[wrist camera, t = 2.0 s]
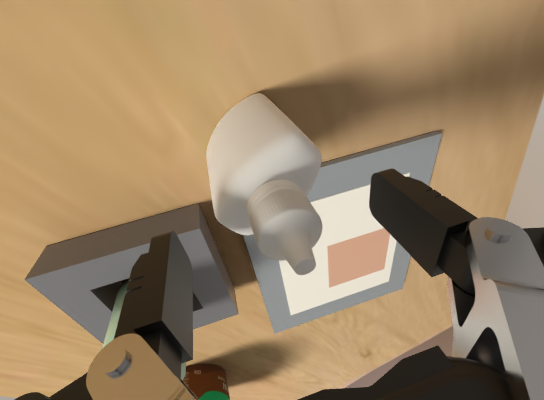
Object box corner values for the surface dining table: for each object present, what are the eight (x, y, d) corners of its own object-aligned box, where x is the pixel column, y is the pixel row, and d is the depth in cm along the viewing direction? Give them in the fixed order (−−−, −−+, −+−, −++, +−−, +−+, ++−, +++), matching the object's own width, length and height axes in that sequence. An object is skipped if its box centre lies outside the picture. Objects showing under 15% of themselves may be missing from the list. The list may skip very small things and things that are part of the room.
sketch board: (228, 188, 19) (229, 194, 19) (436, 130, 21) (443, 133, 21) (273, 329, 32) (274, 334, 32) (399, 284, 35) (403, 289, 34)
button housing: (46, 246, 18) (24, 279, 16) (198, 203, 19) (199, 228, 17) (124, 323, 25) (117, 354, 22) (234, 287, 26) (238, 313, 24)
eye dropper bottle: (287, 146, 19) (389, 273, 9) (216, 173, 18) (243, 334, 9) (271, 85, 16) (390, 175, 6) (187, 117, 16) (183, 258, 6)
